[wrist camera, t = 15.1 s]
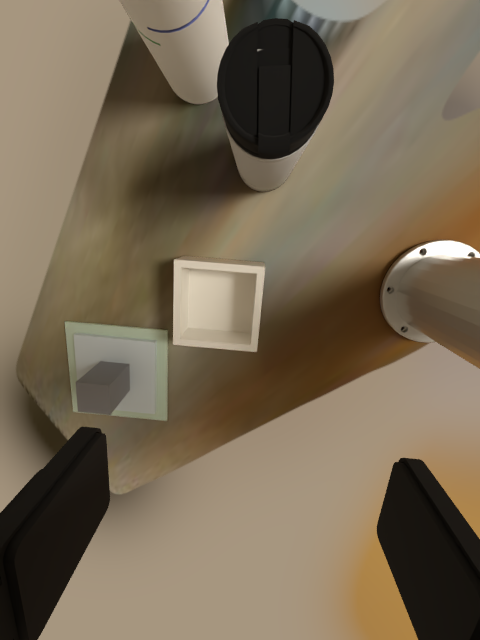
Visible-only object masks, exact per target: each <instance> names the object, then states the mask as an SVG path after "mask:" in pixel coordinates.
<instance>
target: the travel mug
mask: <svg viewBox="0 0 480 640" xmlns="http://www.w3.org/2000/svg"><path fill="white" fill-rule="evenodd" d="M333 85H334V73H333V65H332V61H331V56H330V54H329V52H328V49H327V47H326V45H325V43H324V42H323V40H322V39H321V38H320V36H319V35H318V34H317V33H316V32H315V31H314V30H313V29H312V28H311V27H310V26H308V25H305V24H302V23H300V22H297V21H295V20H294V23H293V22H291V21H289V20H288V19H277V18H275V19H269V20H264V21H262V22H261V23H259V24H258V22H256V23H254V24H252V25H250V26H248V27H245V28H243V29H242V30H241V31H240V32H239V33H238V34H237V35H236V36H235V37H234V38H233V39H232V41H231V42H230V43H229V45H228V46H227V48H226V50H225V52H224V54H223V56H222V59H221V61H220V65H219V69H218V75H217V93H218V100H219V103H220V107H221V110H222V117H223V121H224V124H225V128H226V131H227V134H228V138H229V141H230V144H231V148H232V151H233V154H234V158H235V161H236V165H237V168H238V171H239V174H240V176H241V178H242V180H243V181H244V183H245V184H246V185H248V186H249V187H250V188H252V189H254V190H256V191H261V192H267V191H272V190H275V189H276V188H278V187H280V186H281V185H282V184H283V183H284V182H285V181H286V179H287V178H288V176H289V175H290V173H291V171H292V170H293V168H294V166H295V165H296V163H297V161H298V160H299V158H300V157H301V155H302V153H303V152H304V150H305V148H306V147H307V145H308V143H309V142H310V140H311V138H312V137H313V135H314V133H315V131H316V129H317V127H318V125H319V123H320V121H321V120H322V118H323V116H324V114H325V112H326V110H327V108H328V106H329V103H330V100H331V97H332V92H333Z"/></svg>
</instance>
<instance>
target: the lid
mask: <svg viewBox="0 0 480 640" xmlns="http://www.w3.org/2000/svg"><path fill="white" fill-rule="evenodd" d="M74 347H75V360H76V373H77V381H76V382H75V383H76V395H77V407H78V412H85V413H95V414H105V415H111V414H112V412H113V411H114V410H119V411H129V412H138V413H148V414H155V413H156V395H157V340H147V339H137V338H127V337H117V336H106V335H96V334H86V333H75V334H74Z"/></svg>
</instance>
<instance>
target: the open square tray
mask: <svg viewBox="0 0 480 640" xmlns="http://www.w3.org/2000/svg"><path fill="white" fill-rule="evenodd" d="M264 274H265V264H264V262H255V261H243V260H230V259H218V258H205V257H193V256H182V257H180V258H177V259H174V301H173V345H183V346H194V347H205V348H217V349H228V350H239V351H250V352H257V346H258V335H259V325H260V315H261V305H262V295H263V284H264Z"/></svg>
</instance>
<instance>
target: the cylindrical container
mask: <svg viewBox="0 0 480 640" xmlns="http://www.w3.org/2000/svg"><path fill="white" fill-rule="evenodd" d="M120 2H121V4H122V6H123V7H124V9H125V10H126V12H127V14H128V16H129V17H130V19H131V21H132V22H133V24H134V26H135V28H136V29H137V31H138V33H139V34H140V36H141V38H142V39H143V41H144V43H145V44H146V46H147V48H148V49H149V51H150V53H151V54H152V56H153V58H154V59H155V61H156V63H157V64H158V66H159V68H160V69H161V71H162V73H163V74H164V76H165V78H166V79H167V81H168V83H169V84H170V86H171V88H172V90H173V91H174V92H175V93H176V94H177V95H178V96H179V97H180V98H181V99H183V100H184V101H187V102H189V103H193V104H204V103H208V102H210V101H212V100H214V99H215V98H217V97H218V93H217V75H218V69H219V65H220V61H221V59H222V56H223V54H224V52H225V50H226V48H227V46H228V45H229V43H228V36H227V29H226V22H225V15H224V9H223V2H222V0H120Z"/></svg>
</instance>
